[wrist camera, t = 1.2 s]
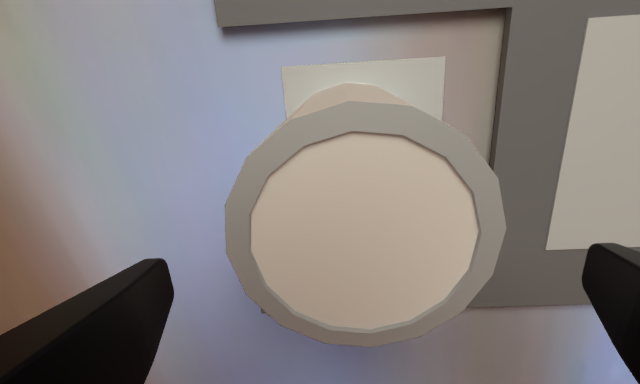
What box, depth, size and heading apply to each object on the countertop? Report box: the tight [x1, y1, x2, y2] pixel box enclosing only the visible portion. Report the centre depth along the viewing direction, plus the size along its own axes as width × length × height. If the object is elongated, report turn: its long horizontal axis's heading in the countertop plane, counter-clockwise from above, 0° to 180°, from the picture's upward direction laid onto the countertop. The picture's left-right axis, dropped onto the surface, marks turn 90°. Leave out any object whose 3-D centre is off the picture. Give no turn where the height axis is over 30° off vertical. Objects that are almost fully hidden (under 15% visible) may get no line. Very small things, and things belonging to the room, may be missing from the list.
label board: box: [214, 0, 640, 313], centre depth 16 cm, size 22×15×1 cm
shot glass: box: [225, 82, 506, 347], centre depth 13 cm, size 7×7×7 cm
